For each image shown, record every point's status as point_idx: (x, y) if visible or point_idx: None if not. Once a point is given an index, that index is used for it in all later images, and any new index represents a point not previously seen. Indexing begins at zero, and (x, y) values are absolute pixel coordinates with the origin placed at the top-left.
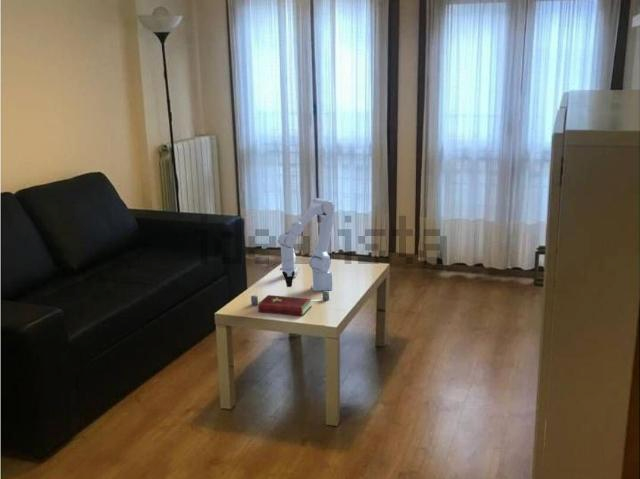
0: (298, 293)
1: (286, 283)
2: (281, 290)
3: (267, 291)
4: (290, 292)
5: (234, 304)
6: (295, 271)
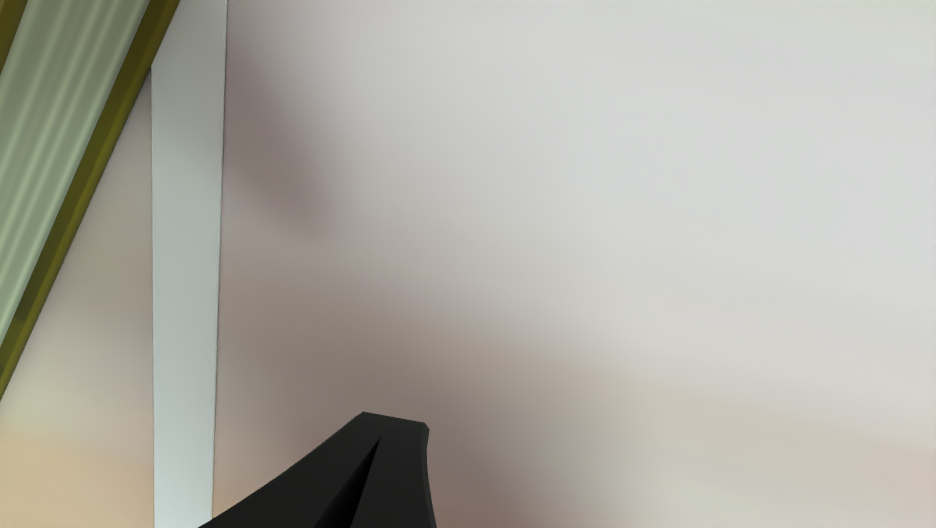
0: (535, 502)
1: (303, 461)
2: (813, 311)
3: (907, 47)
4: (635, 415)
5: None
6: None
